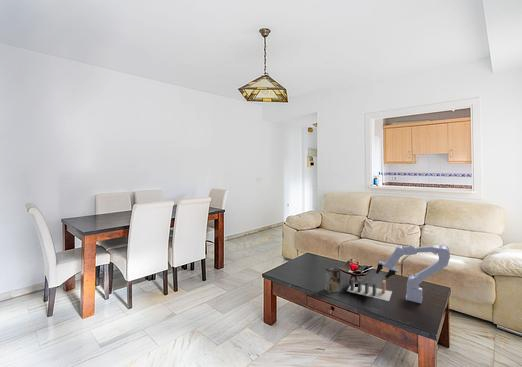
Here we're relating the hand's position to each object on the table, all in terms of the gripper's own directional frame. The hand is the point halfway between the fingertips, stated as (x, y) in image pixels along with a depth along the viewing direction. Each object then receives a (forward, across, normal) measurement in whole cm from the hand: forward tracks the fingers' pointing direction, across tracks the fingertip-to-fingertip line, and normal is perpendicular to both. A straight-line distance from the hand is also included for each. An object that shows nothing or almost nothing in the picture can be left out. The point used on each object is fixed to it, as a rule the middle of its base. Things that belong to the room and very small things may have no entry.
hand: (381, 275), depth 195 cm
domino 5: (+9, -7, +4) cm, 12 cm away
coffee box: (+26, +25, +5) cm, 36 cm away
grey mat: (+14, +2, +4) cm, 15 cm away
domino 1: (+20, +12, +2) cm, 23 cm away
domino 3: (+14, +4, +6) cm, 16 cm away
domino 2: (+17, +8, +4) cm, 19 cm away
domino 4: (+12, 0, +8) cm, 14 cm away
